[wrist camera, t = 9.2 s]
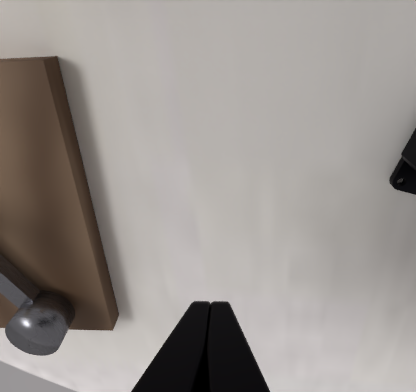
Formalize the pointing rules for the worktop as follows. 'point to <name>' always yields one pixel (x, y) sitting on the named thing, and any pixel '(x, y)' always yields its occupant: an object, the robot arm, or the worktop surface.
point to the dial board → (48, 196)
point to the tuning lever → (34, 313)
